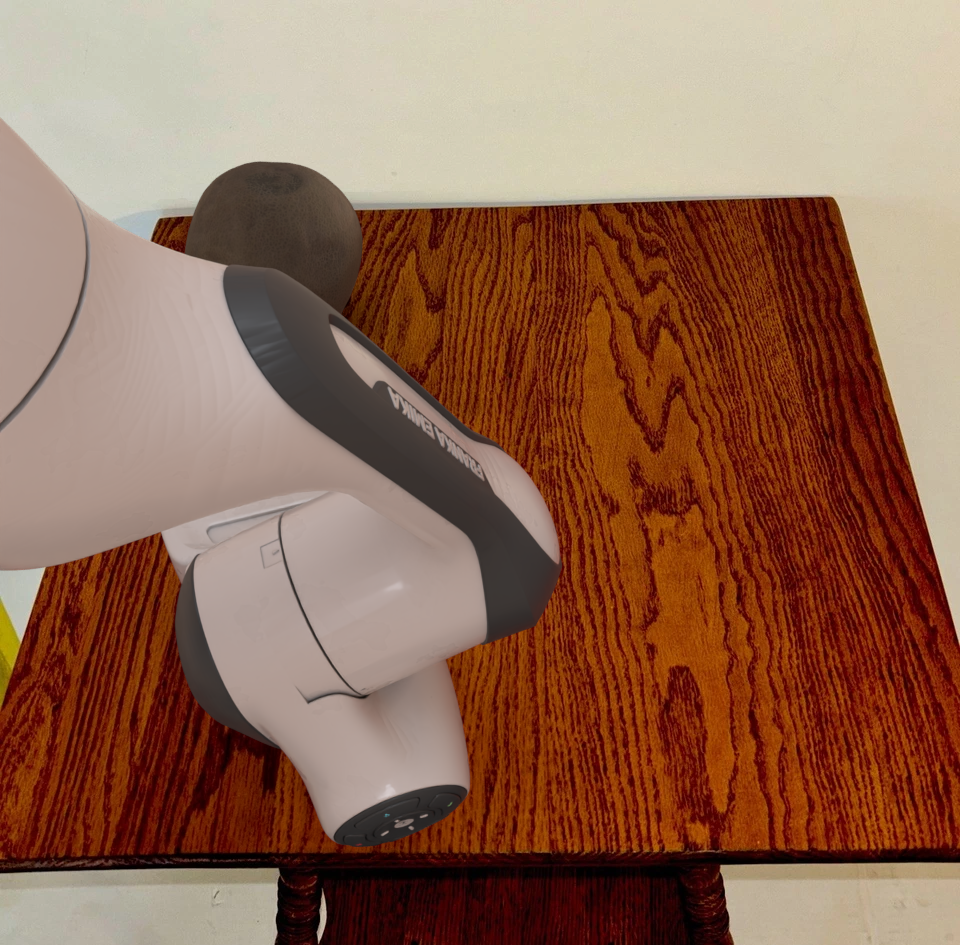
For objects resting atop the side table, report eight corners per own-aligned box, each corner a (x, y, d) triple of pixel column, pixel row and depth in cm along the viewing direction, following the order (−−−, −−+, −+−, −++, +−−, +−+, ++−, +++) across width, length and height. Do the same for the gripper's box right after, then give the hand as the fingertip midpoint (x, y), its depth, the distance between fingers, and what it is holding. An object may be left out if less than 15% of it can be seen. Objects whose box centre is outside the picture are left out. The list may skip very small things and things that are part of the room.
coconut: (350, 391, 84) (320, 234, 73) (187, 378, 86) (134, 224, 75) (390, 286, 94) (368, 133, 83) (242, 277, 96) (202, 127, 85)
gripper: (507, 503, 61) (447, 358, 70) (158, 591, 58) (142, 427, 67) (510, 568, 66) (453, 424, 75) (187, 654, 62) (169, 492, 72)
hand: (304, 426), depth 71 cm, fingers open, 8 cm apart
